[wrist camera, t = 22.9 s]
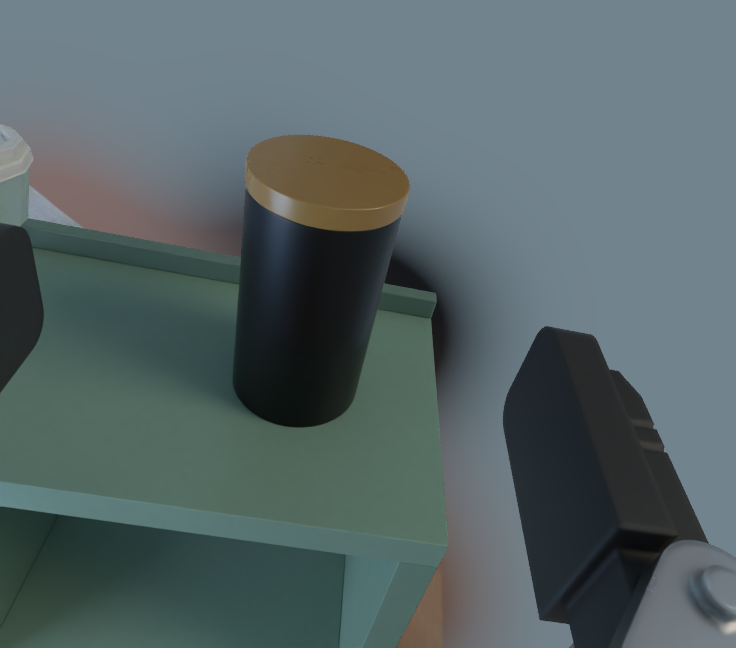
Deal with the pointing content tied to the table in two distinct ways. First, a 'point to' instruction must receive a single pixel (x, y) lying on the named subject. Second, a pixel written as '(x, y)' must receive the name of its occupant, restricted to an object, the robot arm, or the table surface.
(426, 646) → the table surface
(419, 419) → the shelf
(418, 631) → the table surface
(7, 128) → the disposable coffee cup
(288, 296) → the black tea tin
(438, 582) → the table surface
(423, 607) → the table surface
